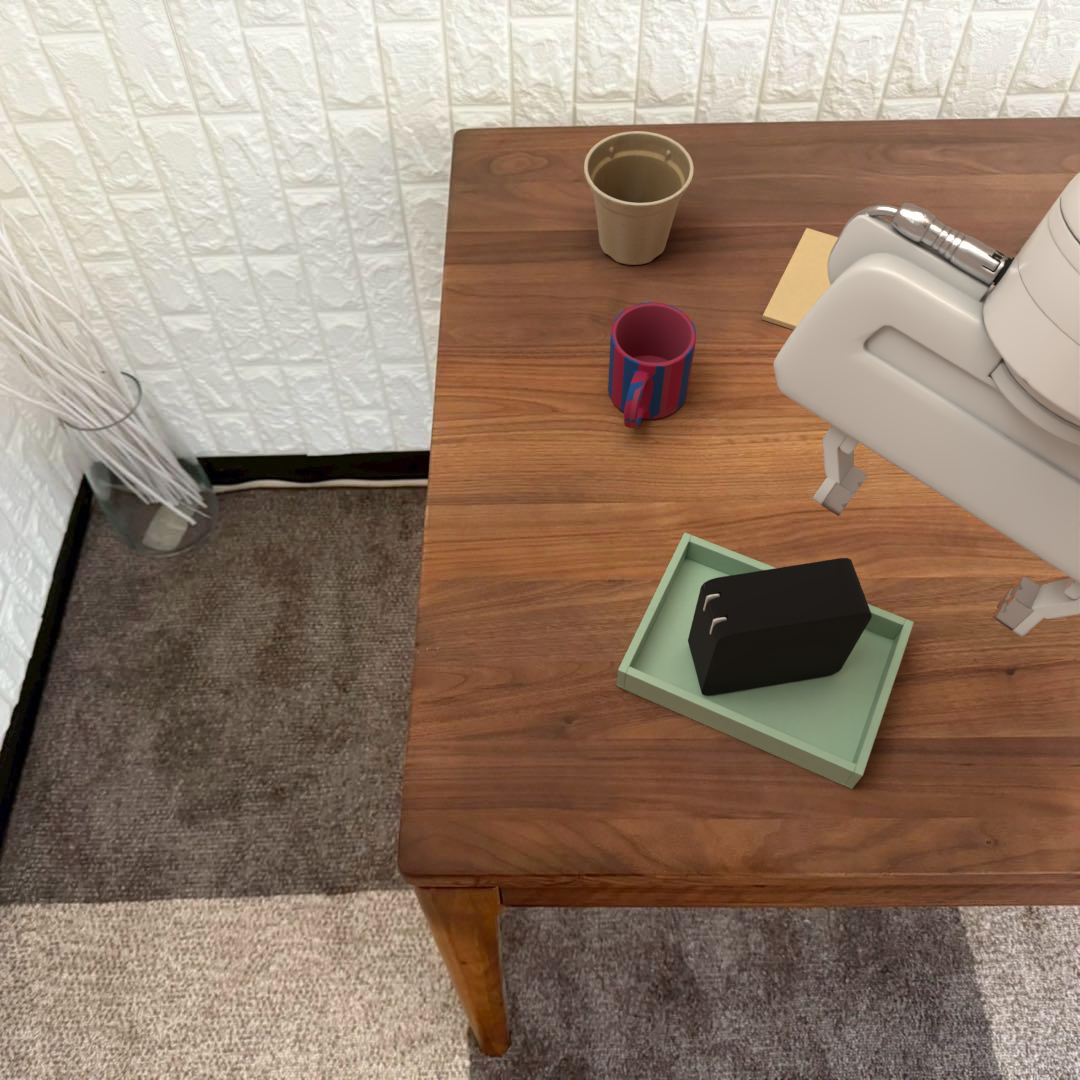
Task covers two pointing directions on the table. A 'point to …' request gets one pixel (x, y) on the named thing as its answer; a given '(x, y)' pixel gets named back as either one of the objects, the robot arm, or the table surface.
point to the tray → (773, 711)
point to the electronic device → (776, 625)
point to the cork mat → (801, 280)
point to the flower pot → (636, 192)
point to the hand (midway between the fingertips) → (917, 559)
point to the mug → (650, 361)
